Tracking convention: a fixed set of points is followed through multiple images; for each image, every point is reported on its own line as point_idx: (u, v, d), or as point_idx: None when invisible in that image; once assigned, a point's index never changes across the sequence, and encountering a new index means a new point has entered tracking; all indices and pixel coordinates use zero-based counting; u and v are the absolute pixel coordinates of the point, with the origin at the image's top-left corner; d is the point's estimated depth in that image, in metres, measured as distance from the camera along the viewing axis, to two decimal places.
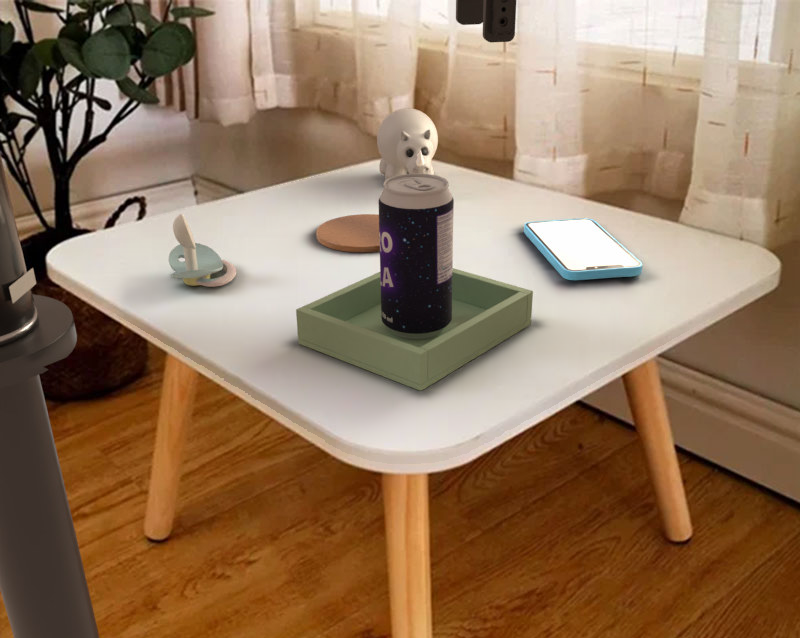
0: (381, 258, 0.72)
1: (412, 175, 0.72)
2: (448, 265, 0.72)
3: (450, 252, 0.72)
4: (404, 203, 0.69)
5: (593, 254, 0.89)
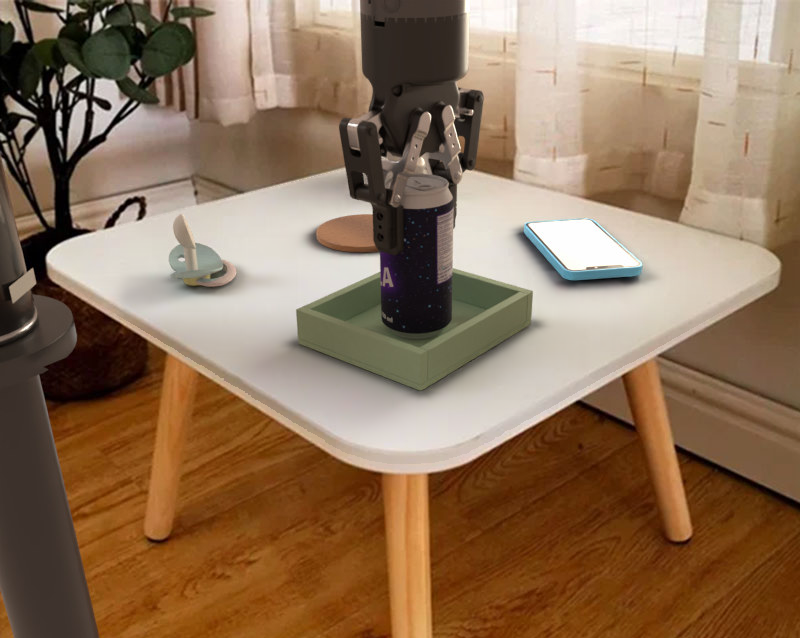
0: (381, 258, 0.72)
1: None
2: (448, 265, 0.72)
3: (450, 252, 0.72)
4: (404, 202, 0.69)
5: (593, 254, 0.89)
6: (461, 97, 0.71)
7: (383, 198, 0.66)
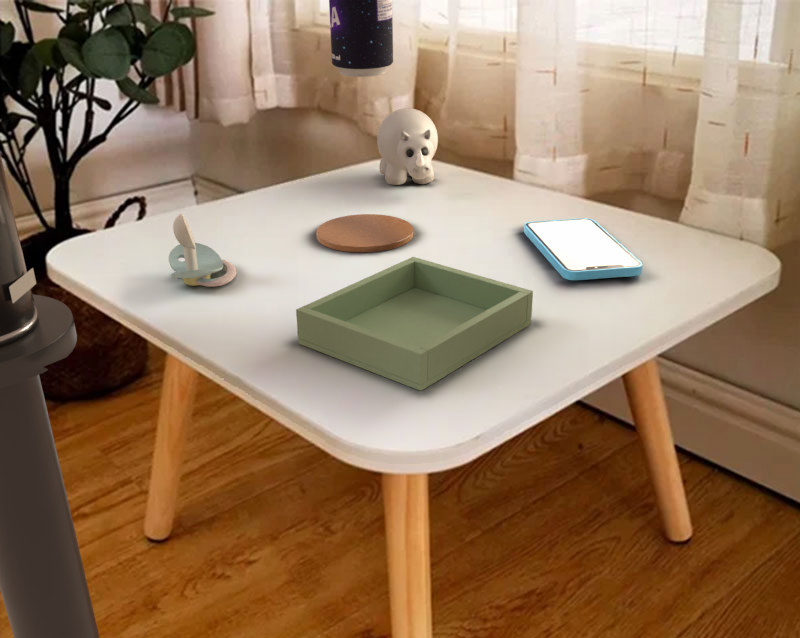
0: (330, 0, 0.84)
1: None
2: (387, 6, 0.84)
3: None
4: None
5: (593, 254, 0.89)
6: None
7: None
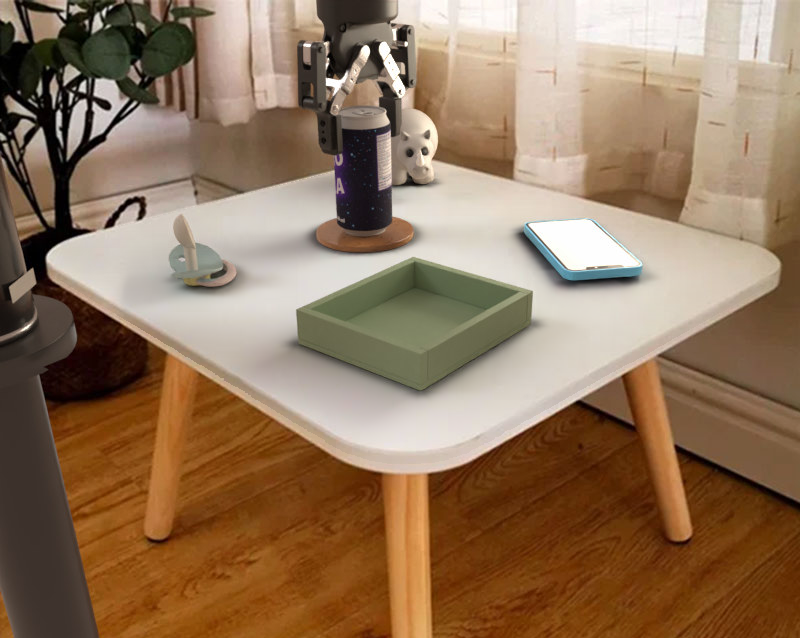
0: (335, 171, 0.93)
1: (359, 106, 0.93)
2: (387, 176, 0.93)
3: (388, 166, 0.93)
4: (351, 125, 0.89)
5: (593, 254, 0.89)
6: (396, 33, 0.91)
7: (323, 107, 0.85)
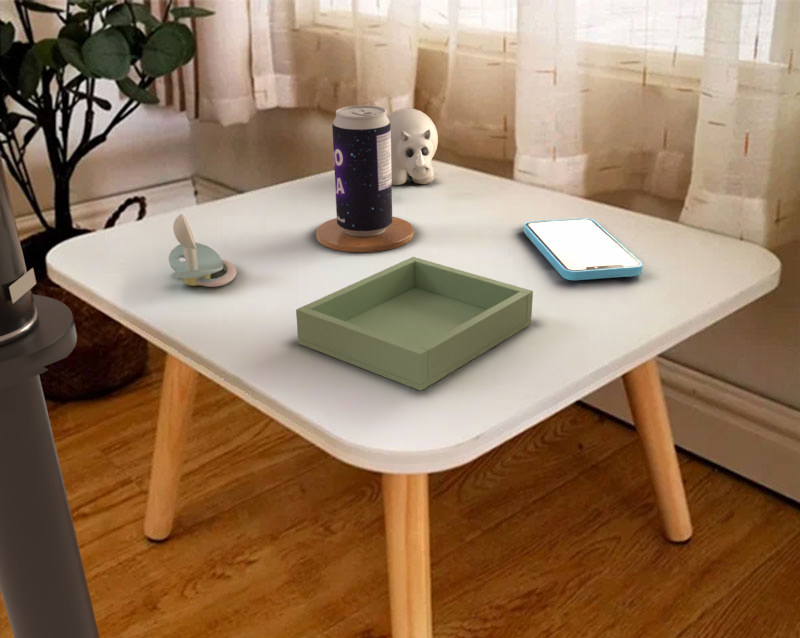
0: (335, 171, 0.93)
1: (359, 106, 0.93)
2: (387, 176, 0.93)
3: (388, 166, 0.93)
4: (351, 125, 0.89)
5: (593, 254, 0.89)
6: None
7: None
